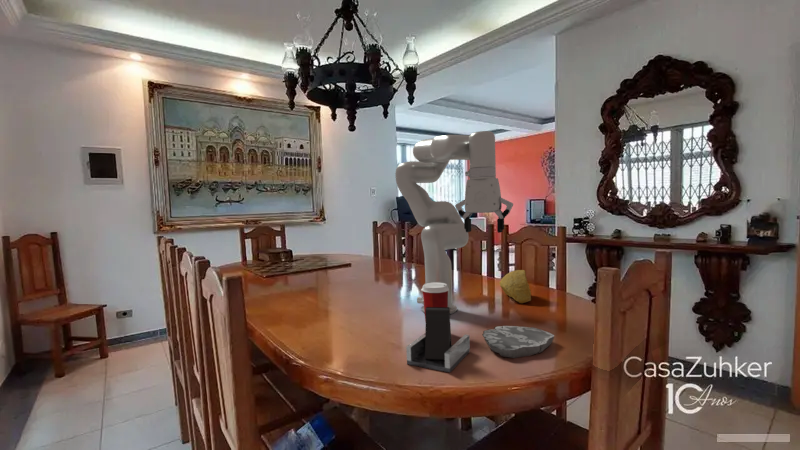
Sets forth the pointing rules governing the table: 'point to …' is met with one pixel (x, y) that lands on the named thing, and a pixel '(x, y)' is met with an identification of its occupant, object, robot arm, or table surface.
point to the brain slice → (517, 340)
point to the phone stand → (437, 333)
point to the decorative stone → (516, 286)
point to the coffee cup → (435, 295)
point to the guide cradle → (451, 360)
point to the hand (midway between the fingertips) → (484, 232)
